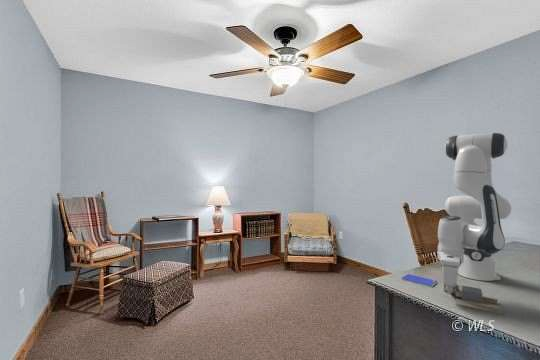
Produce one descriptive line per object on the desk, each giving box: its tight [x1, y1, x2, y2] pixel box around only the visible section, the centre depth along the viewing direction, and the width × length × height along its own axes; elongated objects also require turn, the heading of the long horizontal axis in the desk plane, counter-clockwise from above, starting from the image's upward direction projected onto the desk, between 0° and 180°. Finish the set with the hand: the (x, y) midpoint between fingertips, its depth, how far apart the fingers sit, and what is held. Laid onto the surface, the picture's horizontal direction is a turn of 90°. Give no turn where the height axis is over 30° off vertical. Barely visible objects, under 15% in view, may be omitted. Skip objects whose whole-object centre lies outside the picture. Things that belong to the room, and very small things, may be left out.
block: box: [461, 285, 483, 304], centre depth 105 cm, size 6×6×5 cm
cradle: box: [443, 283, 502, 314], centre depth 106 cm, size 14×17×4 cm
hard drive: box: [401, 273, 438, 288], centre depth 127 cm, size 2×8×12 cm
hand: (450, 290), depth 112 cm, fingers closed
